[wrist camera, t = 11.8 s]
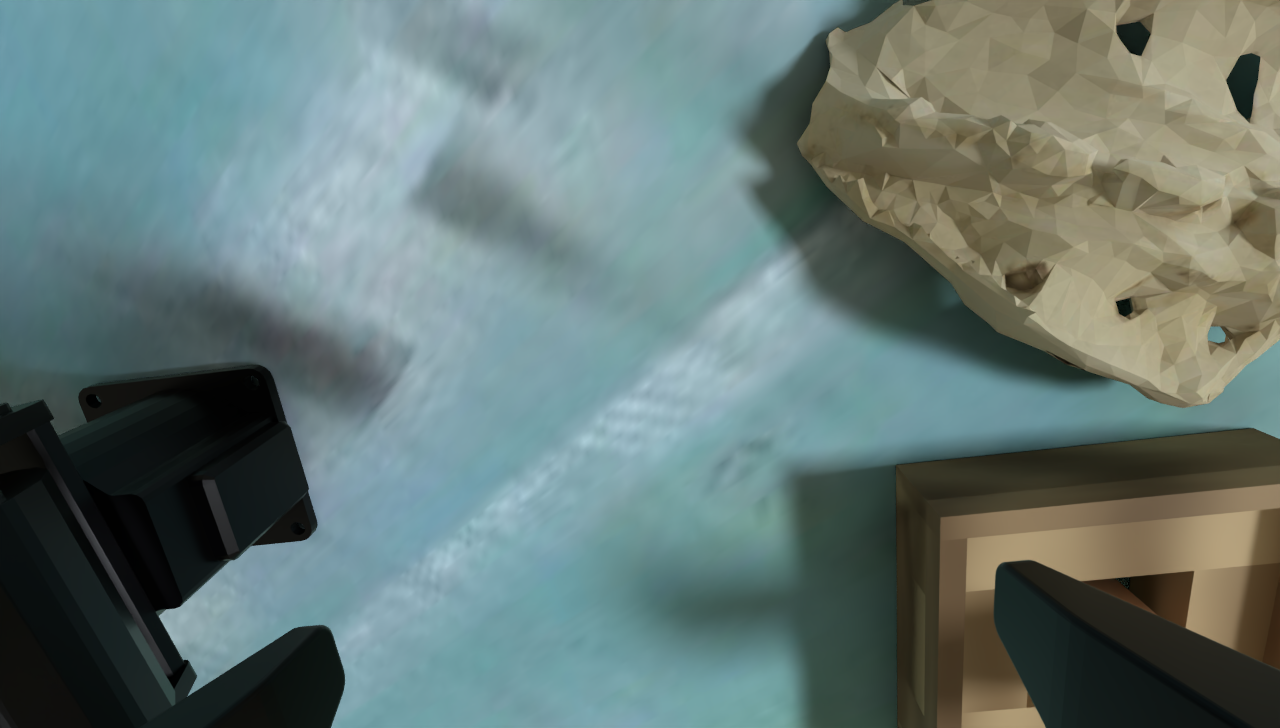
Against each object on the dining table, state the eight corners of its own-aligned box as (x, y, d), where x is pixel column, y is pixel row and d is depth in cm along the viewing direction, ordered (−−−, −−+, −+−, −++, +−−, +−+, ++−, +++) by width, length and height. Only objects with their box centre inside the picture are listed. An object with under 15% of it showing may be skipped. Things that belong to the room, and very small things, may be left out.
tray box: (897, 733, 25) (935, 818, 22) (896, 465, 22) (940, 517, 19) (1205, 708, 25) (1292, 791, 21) (1253, 428, 21) (1366, 475, 18)
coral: (764, 133, 19) (811, 117, 14) (1100, -232, 16) (1304, -411, 11) (1070, 449, 22) (1197, 529, 17) (1392, 182, 19) (1653, 184, 14)
